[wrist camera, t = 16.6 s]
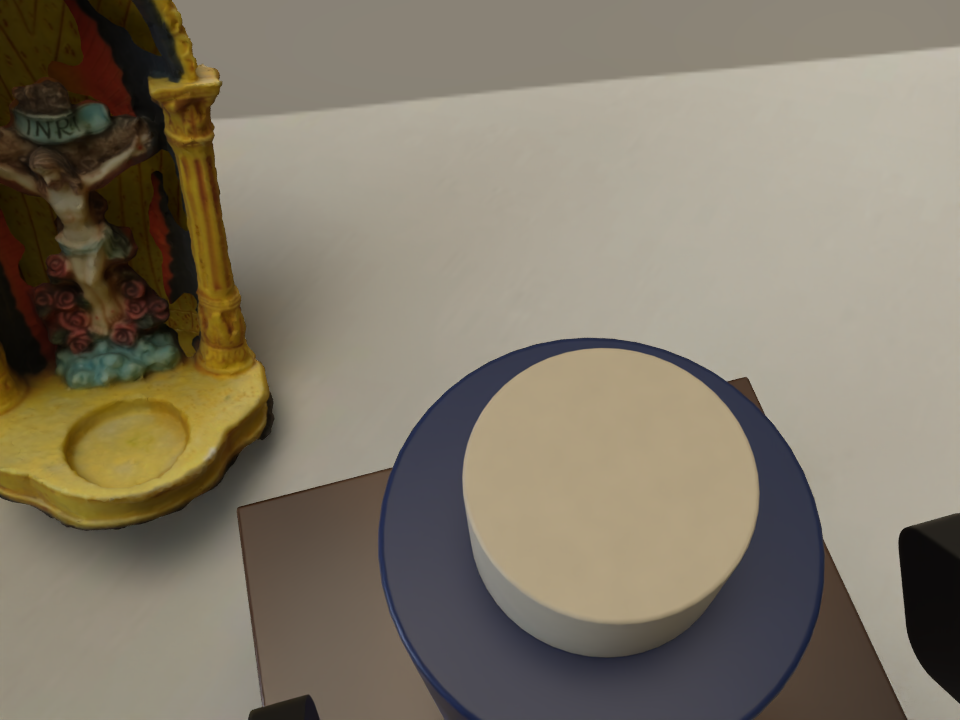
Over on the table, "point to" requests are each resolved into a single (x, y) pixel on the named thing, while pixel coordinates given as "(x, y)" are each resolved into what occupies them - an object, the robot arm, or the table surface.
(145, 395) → the shrine
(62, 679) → the table surface
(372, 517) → the brown wooden stand
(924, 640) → the robot arm
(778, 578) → the bottle
